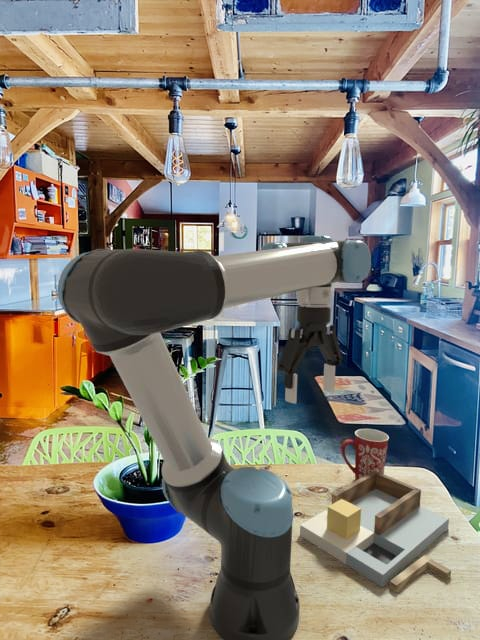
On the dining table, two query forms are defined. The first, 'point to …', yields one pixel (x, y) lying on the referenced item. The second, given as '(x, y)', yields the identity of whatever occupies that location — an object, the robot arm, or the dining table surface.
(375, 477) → the cubby
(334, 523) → the block
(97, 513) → the dining table surface
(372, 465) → the mug
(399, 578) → the crook tool
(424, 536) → the board
